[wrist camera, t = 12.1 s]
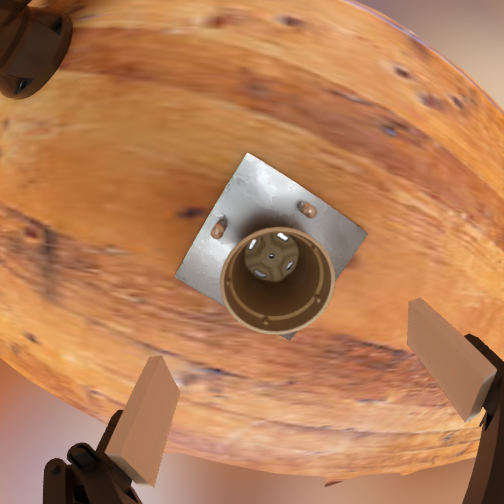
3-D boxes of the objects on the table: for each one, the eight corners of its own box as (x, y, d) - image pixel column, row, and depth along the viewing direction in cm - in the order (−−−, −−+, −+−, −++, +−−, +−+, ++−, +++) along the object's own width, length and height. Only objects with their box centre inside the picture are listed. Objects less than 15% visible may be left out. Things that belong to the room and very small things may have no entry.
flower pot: (320, 217, 30) (345, 234, 21) (307, 297, 32) (323, 337, 24) (232, 207, 30) (224, 221, 21) (226, 290, 32) (216, 329, 24)
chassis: (176, 273, 33) (164, 290, 28) (247, 153, 29) (246, 149, 24) (288, 335, 35) (293, 359, 30) (364, 231, 31) (382, 241, 26)
